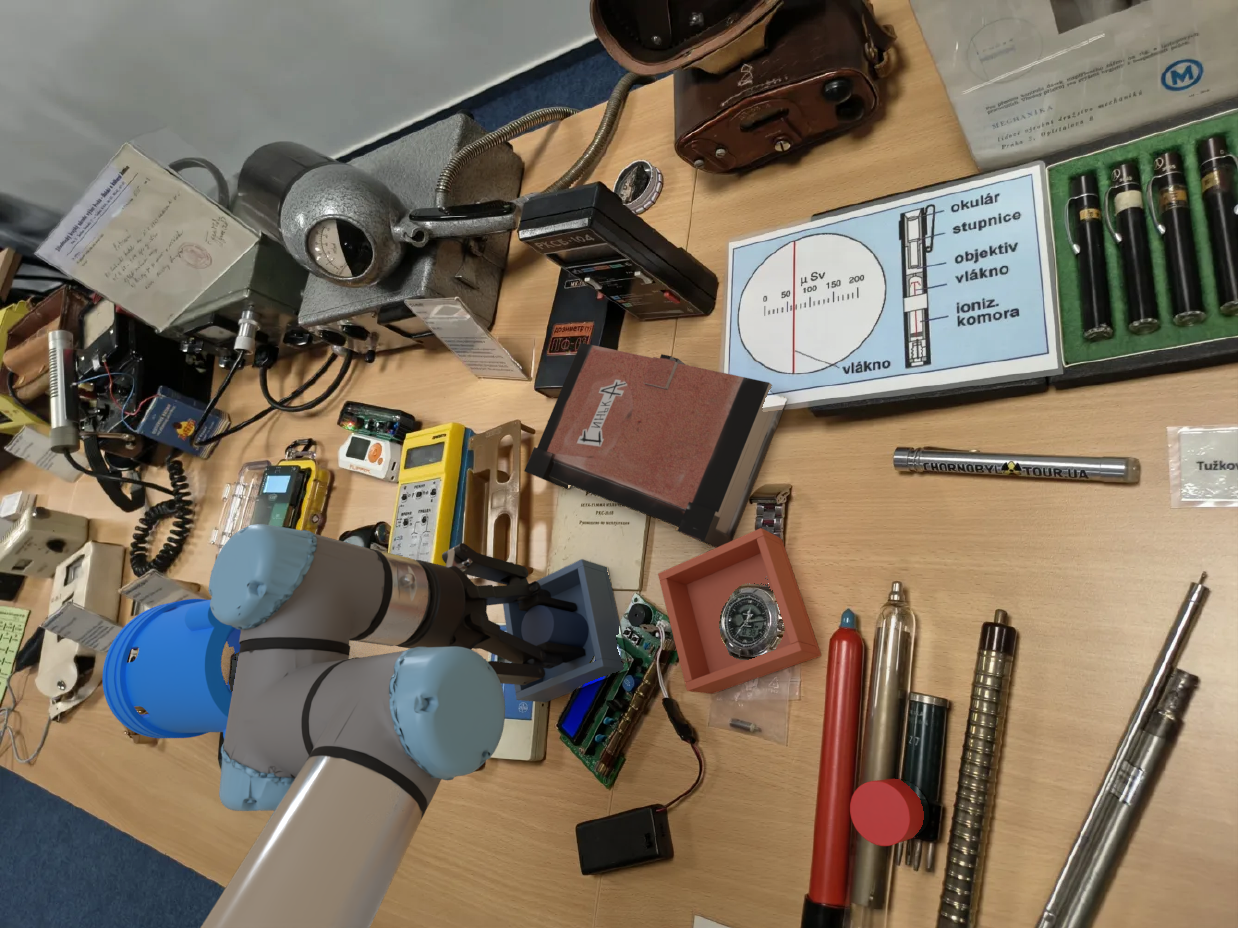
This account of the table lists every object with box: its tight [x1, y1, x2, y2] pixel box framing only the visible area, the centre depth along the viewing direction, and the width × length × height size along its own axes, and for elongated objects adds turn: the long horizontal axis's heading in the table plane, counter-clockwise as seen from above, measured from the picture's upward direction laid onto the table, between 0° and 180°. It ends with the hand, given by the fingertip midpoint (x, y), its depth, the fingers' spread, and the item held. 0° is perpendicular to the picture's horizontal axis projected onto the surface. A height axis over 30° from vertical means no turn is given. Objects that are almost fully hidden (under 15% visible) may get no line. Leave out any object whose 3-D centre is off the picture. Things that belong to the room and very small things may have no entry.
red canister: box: [849, 778, 924, 847], centre depth 58 cm, size 4×4×6 cm
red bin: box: [657, 527, 822, 695], centre depth 71 cm, size 12×12×5 cm
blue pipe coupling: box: [101, 598, 241, 740], centre depth 105 cm, size 25×22×19 cm
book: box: [523, 342, 784, 548], centre depth 83 cm, size 26×18×5 cm
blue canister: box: [521, 605, 588, 648], centre depth 81 cm, size 4×4×6 cm
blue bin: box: [502, 558, 624, 703], centre depth 82 cm, size 12×12×5 cm
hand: (570, 632), depth 83 cm, fingers closed on blue canister, 4 cm apart
